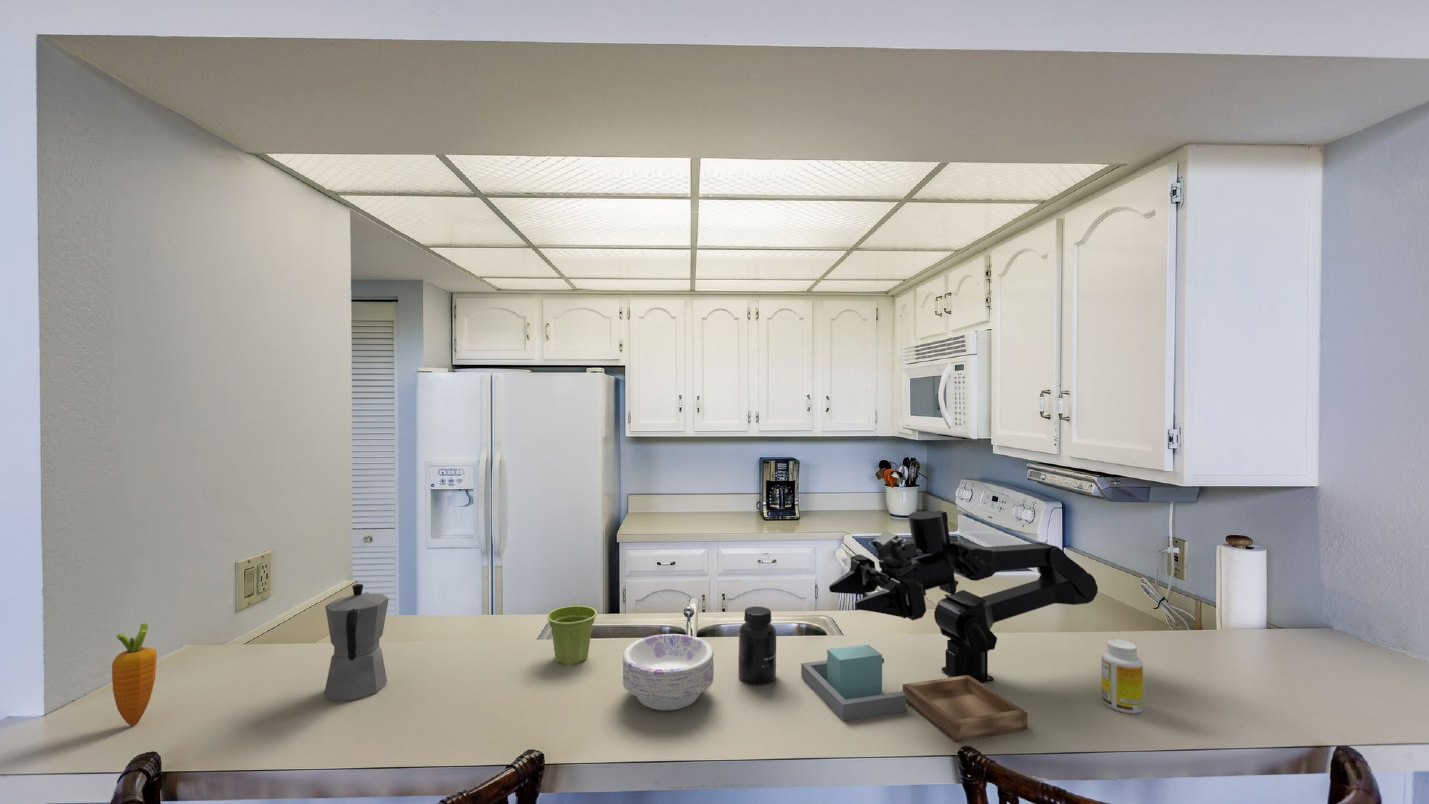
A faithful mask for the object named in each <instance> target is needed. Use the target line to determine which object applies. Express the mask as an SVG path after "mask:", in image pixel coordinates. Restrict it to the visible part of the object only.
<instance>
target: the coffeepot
mask: <svg viewBox="0 0 1429 804" xmlns="http://www.w3.org/2000/svg"><path fill="white" fill-rule="evenodd" d="M363 588H364V584H362V583H357V584H354V585H352V592H353V594H351V595H348V596H343V597H340V598H337V599H335V600H333V601H331V602H329V603H327V604H325V606H324V607H325V612H326V613H325V614H326V620H327V625H328V630H329V637H330V639H329V640H330V643H331V645H332V646H333V654H332V656H331V658H330V663H329V668H328V672H327V673H328V674H327V679H326V684H325V688H324V695H325V697H326V698H327V699H328V700H329V701H331V702H335V703H336V702H337V703H338V702H339V703H340V702H342V703H343V702H352V701H359V700H362V699H364V698H368V697H370V696H372V695H375V694H377V693H379V692H380V691H381V690H383V689H384V687H385V686H386V684H387V683H388V678H387V673H386V668H385V662H384V656H383V650H382V648H381V646H380V639H381V637H382V636H383V634H384V629H385V628H384V627H385V623H386V616H387V611H388V605H389V597H387V596H386V595H385V594H382V593H369V592H363V590H364V589H363Z"/></svg>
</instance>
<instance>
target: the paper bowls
mask: <svg viewBox="0 0 1429 804" xmlns="http://www.w3.org/2000/svg"><path fill="white" fill-rule="evenodd" d="M714 671H715V670H714V650H713V647H712V646H711V644H709V642H707V641H706V640H703V639H702V638H700V637H696V636H694V635H690V634H689V635H688V634H680V633H679V634H678V633H664V634H656V635H655V634H654V635H649V636H646V637H643V638H640V639H637V640H636V641H634V642H632V643H631V644H629V645H628V646H627V647H626V648H625V650H624V651H623V654H622V685H623V687H624V689H625V690H626V691H628V692H629V694H631V695H633V696H636V698H637V700H638V702H640V704H642V705H643V706H645V707H647V708H650V709H652V710H656V711H665V712H666V711H675V710H676V711H677V710H680V709H683V708H686V707H688V706H690V705H692V704H694V703H695V702H696V701H697V700H698V698H699V697H700V695H701V694H702V693H703V692H705V691H706V690H708V689H709V688H710V687H711V686H712V684H713V682H714Z"/></svg>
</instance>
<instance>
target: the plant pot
mask: <svg viewBox="0 0 1429 804" xmlns="http://www.w3.org/2000/svg"><path fill="white" fill-rule="evenodd" d="M597 615H598V611H597V610H596V608H593V607H591V606H586V605H569V606H565V607H563V606H562V607H558V608H555V609H553V610H551V611H550V612H549V613H547V615H546V619H547V621H548V622H549V627H550V628H551V634H552V640H553V641H552V643H553V649H554V650H553V652H554V657H555V661H556V662H557V663H561V664H562V665H566V666H568V665H577V664H580V663H581V662H582V661H586V660H587V659H588V657H589V651H590V643H591V636H592V630H593V626H594V623H595V619H596V617H597Z"/></svg>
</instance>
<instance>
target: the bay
mask: <svg viewBox="0 0 1429 804" xmlns="http://www.w3.org/2000/svg"><path fill="white" fill-rule="evenodd" d="M800 665H801V666H800V669H801V670H800V674H801V675H800V677H802V678H803V679H804V680H805V681H806V682H807V683H806V682H805V681H804V680H803V679H802V678H801V679H802V680H803V681H804V682H805V683H806V684H807V685H808V684H809V685H808V686H809V687H810V688H811V689H812V690H813V691H814V693H816V694H817V696H819V698H820V699H821V700H822V701H823V702H824V703H825V704H826V705H827V706H828V707H829V708H830V710H832V711H833V712H834V713H835V715H836V716H838V718H839V719H840V720H841V721H842V722H843V721H851V720H857V719H861V718H863V719H864V718H869V717H875V716H882V715H887V714H893V713H899V712H906V711H907V703H906V694H904V693H903V691H898V692H891V693H890V692H888V693H882V695H876V696H869V697H862V698H855V699H849V700H845V699H844V698H843V697H842V696H841V695H840V694H839V693H838V692H837V691H836V690H835V689H834V688H833V687H832V686H831V685H830V684H829V683H828V682H827V679H825V678H827V659H825V660H819V661H809V662H803V663H802V662H801V664H800ZM823 677H825V678H823Z"/></svg>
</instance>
